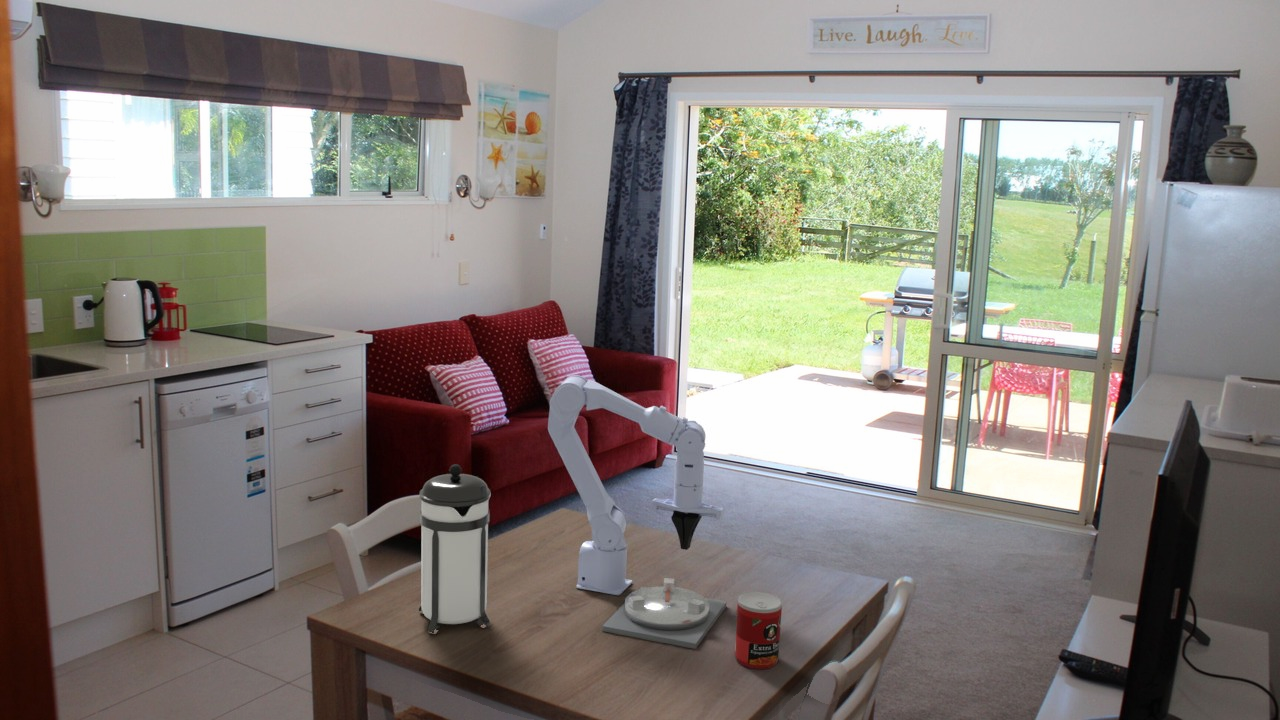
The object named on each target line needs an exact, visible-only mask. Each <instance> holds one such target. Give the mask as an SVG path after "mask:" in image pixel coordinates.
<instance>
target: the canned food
mask: <svg viewBox="0 0 1280 720" xmlns="http://www.w3.org/2000/svg"><path fill="white" fill-rule="evenodd" d="M736 604H737V605H736V608H737V609H736V622H735V623H736V624H735V641H734V642H735V643H734V657H735V659H736V661H737V662H738V663H739V664H741V665H742V666H744V667H745V668H749V669H754V670H766V669H770V668H773V667H774V666H776V665H777V663H778V660H779V658H780V657H779V656H780V639H781V627H782V626H781V625H782V615H783V613H782V611H783V609H782V608H783V604H782V600H781V599H780V598H779V597H777V596H776V595H773V594H771V593H767V592H764V591H763V592H762V591H761V592H760V591H749V592H745V593H742V594H741V595H739V596H738V598H737V603H736Z"/></svg>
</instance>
